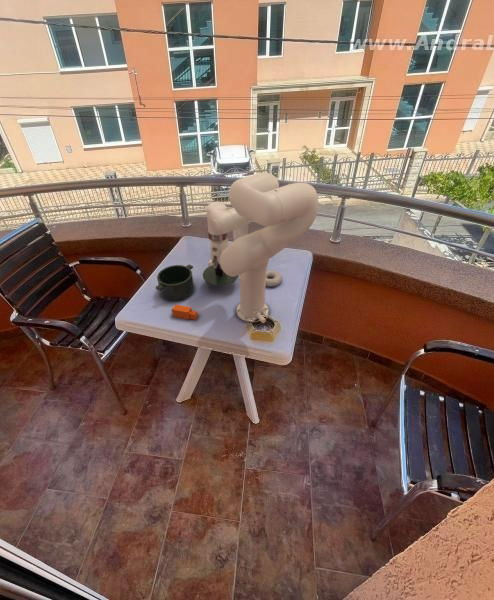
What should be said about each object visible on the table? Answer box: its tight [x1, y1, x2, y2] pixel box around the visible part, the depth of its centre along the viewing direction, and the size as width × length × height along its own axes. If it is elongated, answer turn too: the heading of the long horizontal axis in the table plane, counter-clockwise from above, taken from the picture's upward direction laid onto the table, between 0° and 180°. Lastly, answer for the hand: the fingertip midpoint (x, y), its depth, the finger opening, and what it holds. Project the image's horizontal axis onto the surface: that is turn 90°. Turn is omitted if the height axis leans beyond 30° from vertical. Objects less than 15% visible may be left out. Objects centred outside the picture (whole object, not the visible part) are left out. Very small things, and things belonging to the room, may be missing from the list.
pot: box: [155, 264, 195, 302], centre depth 137 cm, size 15×20×8 cm
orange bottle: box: [171, 304, 199, 321], centre depth 126 cm, size 10×3×4 cm, turn 72°
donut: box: [265, 269, 283, 288], centre depth 140 cm, size 10×3×10 cm
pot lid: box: [202, 264, 240, 287], centre depth 136 cm, size 16×16×7 cm
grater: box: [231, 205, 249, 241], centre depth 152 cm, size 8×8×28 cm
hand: (220, 272), depth 137 cm, fingers closed on pot lid, 3 cm apart
